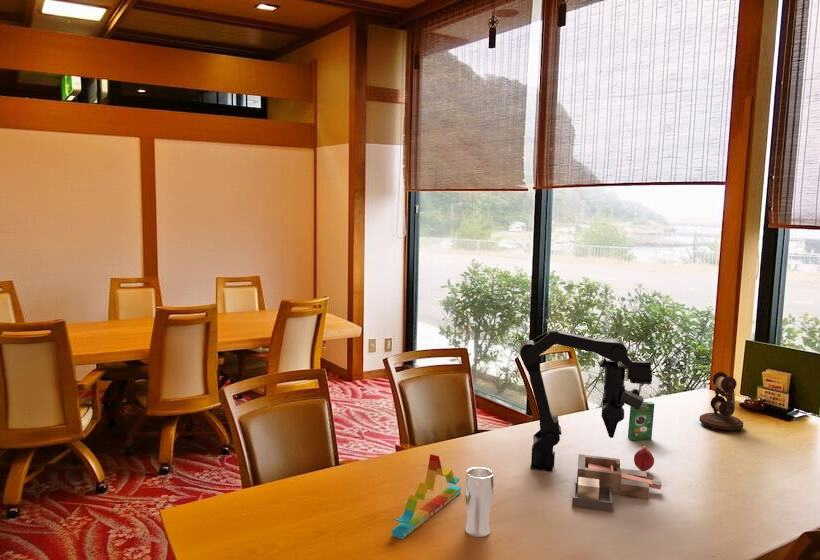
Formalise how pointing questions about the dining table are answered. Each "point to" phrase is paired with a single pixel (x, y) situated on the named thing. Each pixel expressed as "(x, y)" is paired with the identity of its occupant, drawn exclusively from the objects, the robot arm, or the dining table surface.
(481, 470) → the beer glass
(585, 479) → the block
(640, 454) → the onion
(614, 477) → the brown wooden lever base
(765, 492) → the dining table surface
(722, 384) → the brown roll holder stand
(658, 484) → the lever
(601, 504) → the tray
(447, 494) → the chart
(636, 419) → the coffee box
